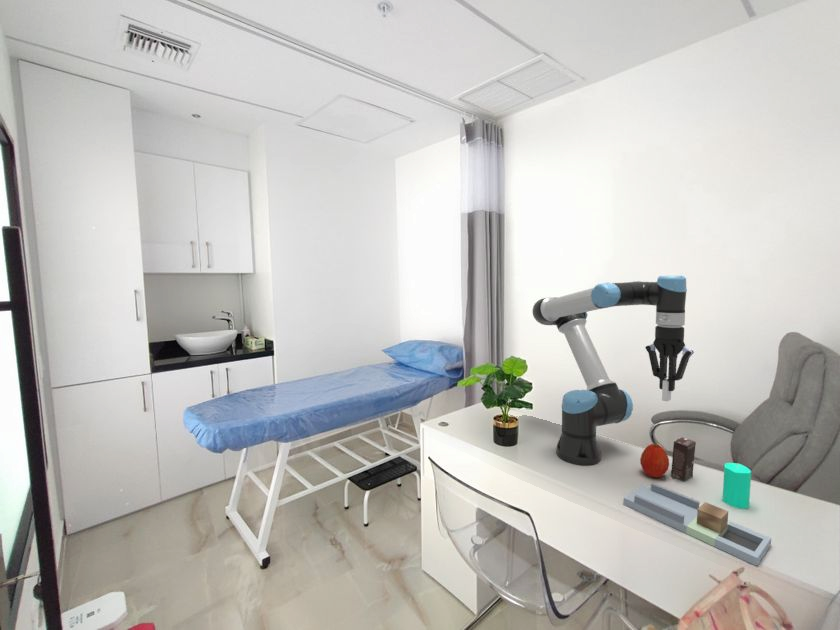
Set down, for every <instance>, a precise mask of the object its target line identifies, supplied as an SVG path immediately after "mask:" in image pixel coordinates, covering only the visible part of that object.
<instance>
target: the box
mask: <svg viewBox="0 0 840 630" xmlns="http://www.w3.org/2000/svg"><path fill="white" fill-rule="evenodd" d="M696 443H697V442H696V441H695V440H692V439H690V438H689V439H688V438H685V437H680V438H678V439H676V440H675V441H673V448H672V457H671V458H672V460H671V461H672V462H671V472H670V477H672V478H674V479H677V480H679V481H682V482H686V481H687V480H689V479H691V478H692V477H693V474H694V466H695V465H694V464H695V453H696Z"/></svg>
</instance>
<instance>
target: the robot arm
mask: <svg viewBox="0 0 840 630" xmlns="http://www.w3.org/2000/svg"><path fill="white" fill-rule="evenodd" d="M687 291H688V290H687V278H686V277H685V276H684V275H660V276H658V277H657V281H639V280H638V281H635V280H634V281H628V282H603V283H598V284H596V285H595V286H594V287H591V288H588V289H583V290H580V291H577V292H573V293H570V294H569V293H568V294H566V295H563V296H558V297H543V298H540V299H539V300H537V301H536V302H535V303H534V305H533V307H532V316H533V318H534V320H535V321H536V322H537V323H539V324H540V325H544V326H556V328H557V330H558V333H561V334H563V335H564V336H565V339H566V341H567V344H568V346H569V348H570V351H571V353H572V355H573V357H574V360H575V362H576V364H577V366H578V369H579V372H580V373H581V376H582V379H583V381H584V383H585V386H586V389H574V390H570V391H568V392H566V393H565V394H564V395H562V400H561V434H560V437H559V439H558V441H557V445H556V447H555V448H556V451H555V452H556V453H555V454H556V455H557V456H558V458H560V459H561V460H563V461H565V462H568V463H570V464H573V465H574V464H575V465H579V466H581V465H582V466H592V465H595V464H598V463H600V462H601V460H602V452H601V450H600V445H599V442H598V439H597V427H600V426H607V425H611V424H619V423H621V422H622V423H623V422H625V421H627V420H628V419H629V418H630V417H631V415H632V413H633V411H634V405H633V400H632V397H631V395H630V394H629V393H628V392H627V391H625V390H623V389H620V388H619V386H618V384H617V383H616V382H614V381H613V380H611V379H610V377H609V375H608V373H607V371H606V369H605V366H604V365H603V363H602V359H601V358H600V356H599V353H598V352H597V349H596V348H595V346H594V343H593V341H592V339H591V336H590V334H589V333H588V331H587V329H586V324H587V322H588V321H587V318H588V316H589V315H588V312H591V311H596V310H602V309H608V308H612V307H613V308H614V307H622V306H624V307H625V306H626V307H627V306H638V305H639V306H640V305H641V306H643V305H644V306H655V325H656V326H655V328H654V329H655V330H654V341H653V342H652V343H651V344H649V345H646V346H645V347H644V348H645V350H646V352H647V353H648V359H649V362H650V366H651V371H652V375H653V376H654V377H656V378H658V379H659V385H658V386H659V390H662V391H661V394H662V395H661V401H662V402H670V401H671V400H672V392H674V391H675V390H676V387H675V386H676V381H680V380H682V379H683V378H684V374H685V371H686V369H687V366H688V363H689V361H690V358H691V357H692V356H693V354H694V352H695V351H694V350H691V349H689V348H687V346H686V343H685V341H684V340H685V327H683V326H685V322H686V302H687V301H686V299H687ZM656 350H657V352H658V353H659V354H658V355H657V352H656ZM681 352H682V353H681ZM680 353H681V354H682V356H681V359H680V361H679V364H678V368H677V362H678V361H677V359H678V357H679V354H680ZM658 357H659V358H658ZM658 359H659V360H658Z"/></svg>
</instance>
